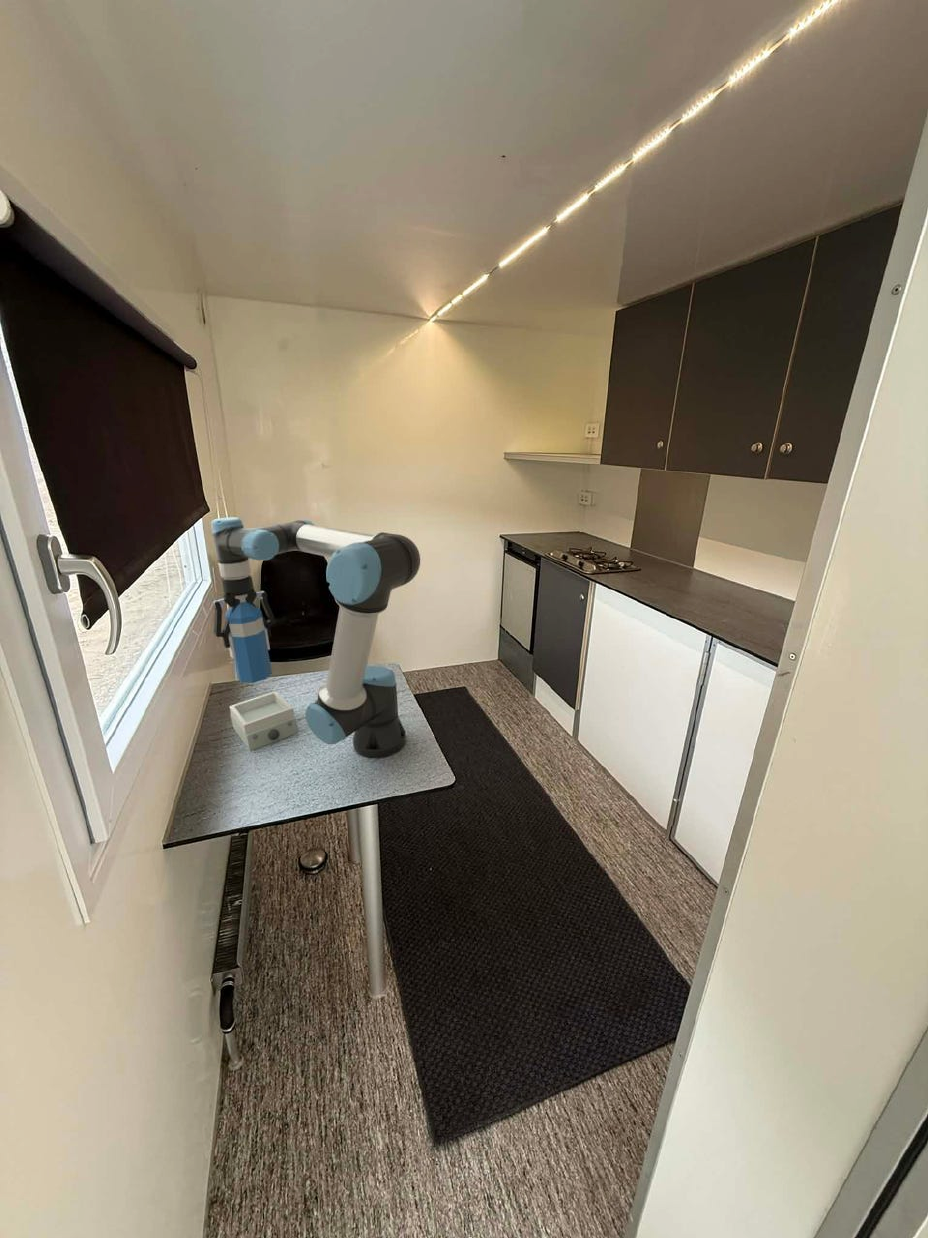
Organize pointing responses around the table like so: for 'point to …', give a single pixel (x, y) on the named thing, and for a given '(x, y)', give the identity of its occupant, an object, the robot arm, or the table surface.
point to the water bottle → (249, 642)
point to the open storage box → (263, 720)
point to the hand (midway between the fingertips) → (250, 652)
